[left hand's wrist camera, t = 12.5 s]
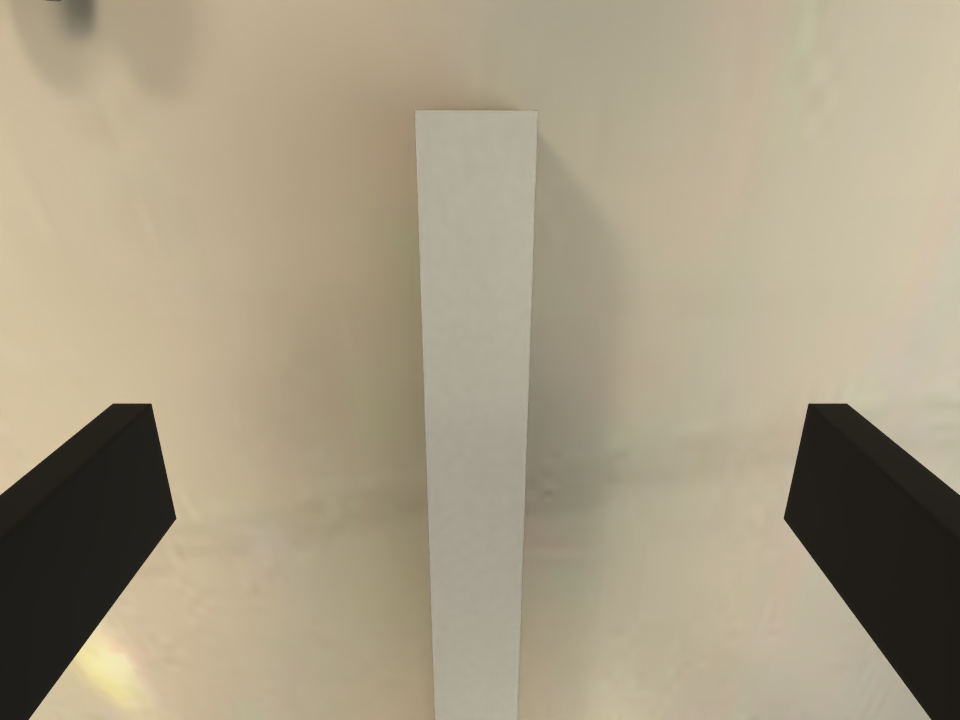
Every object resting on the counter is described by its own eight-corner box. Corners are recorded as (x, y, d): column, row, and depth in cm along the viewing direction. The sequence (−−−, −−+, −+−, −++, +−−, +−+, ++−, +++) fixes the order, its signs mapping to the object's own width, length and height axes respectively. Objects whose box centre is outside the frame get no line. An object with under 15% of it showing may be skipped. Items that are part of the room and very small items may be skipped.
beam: (428, 110, 31) (414, 110, 24) (523, 110, 31) (538, 110, 24) (448, 907, 54) (444, 1028, 47) (502, 906, 55) (507, 1027, 47)
